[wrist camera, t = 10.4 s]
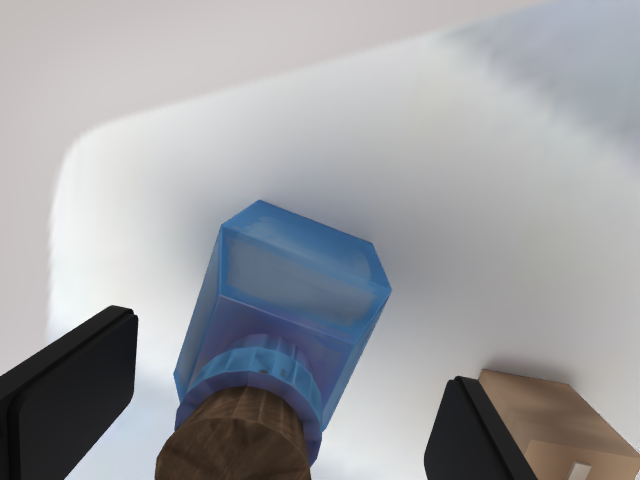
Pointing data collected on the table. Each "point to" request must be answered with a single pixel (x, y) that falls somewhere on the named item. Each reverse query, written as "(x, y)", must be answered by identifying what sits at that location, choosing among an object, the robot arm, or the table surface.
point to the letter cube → (559, 430)
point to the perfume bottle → (270, 347)
